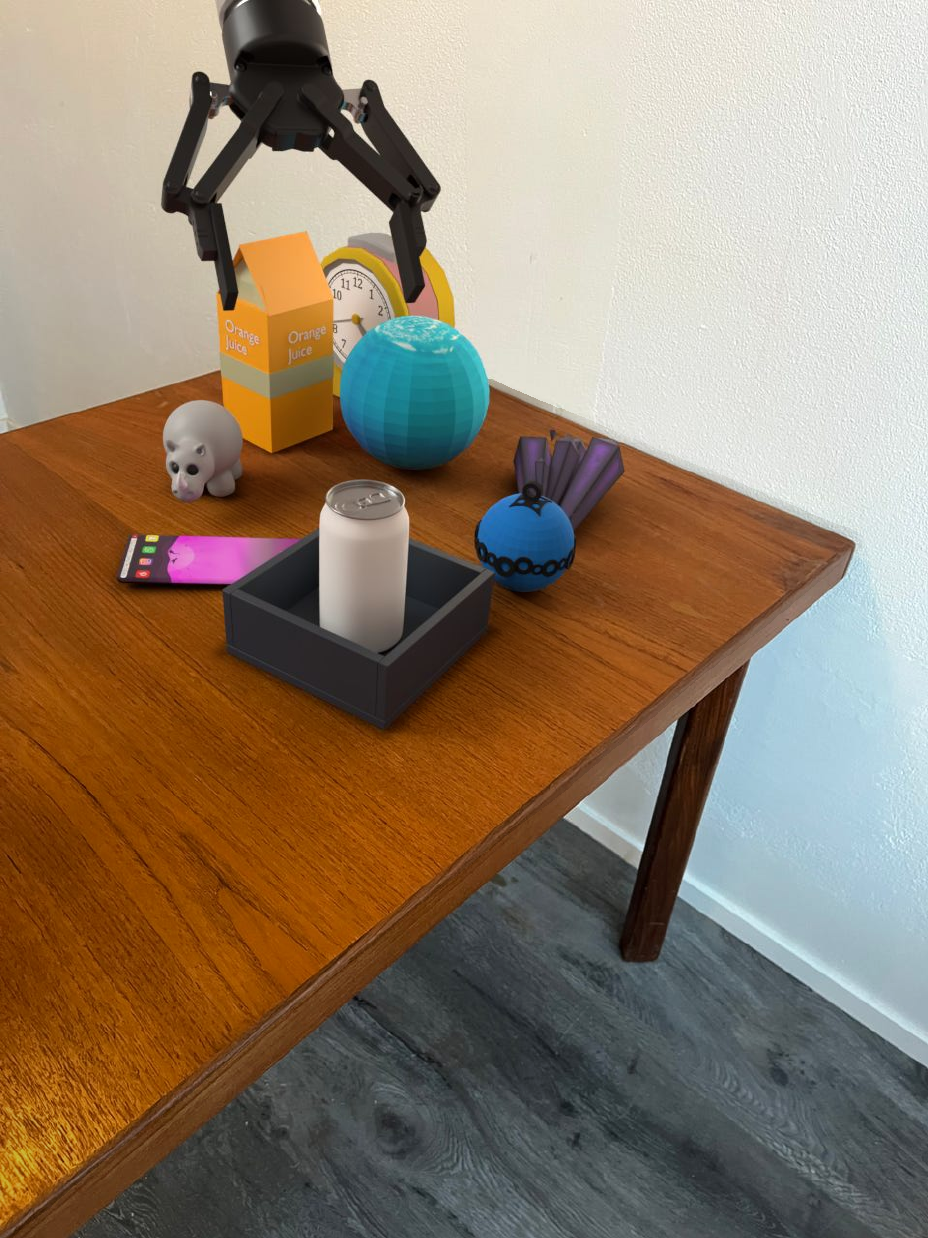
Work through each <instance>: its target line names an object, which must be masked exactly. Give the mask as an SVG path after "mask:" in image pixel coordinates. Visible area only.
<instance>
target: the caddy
mask: <svg viewBox="0 0 928 1238" xmlns="http://www.w3.org/2000/svg"><path fill="white" fill-rule="evenodd" d="M299 539H300V540H299V541H297V542H296V543H294V544H293V545H291V546H290V547H288V548H286V549H285V550H283V551H282V552H280V553H279V554H277V555H276V556H274V557H273V558H271V559H269V560H268V561H266V562H265V563H263V564H262V565H260V566H259V567H257V568H255V569H254V570H252V571H251V572H249V573H248V574H246V575H245V576H243V577H242V578H240V579H238V580H237V581H235V582H234V583H232V584H231V585H227V586H226V587H224V588H222V604H223V618H224V619H223V620H224V632H225V649H226V653H227V654H229V655H232V656H234V657H235V658H237V659H240V660H241V661H243V662H245V663H248V664H249V665H252V666H254V667H255V668H258V669H260V670H262V671H263V672H266V673H268V674H270V675H272V676H274V677H275V678H278V679H280V680H281V681H284V682H286V683H288V684H290V685H292V686H294V687H296V688H298V689H299V690H302V691H304V692H305V693H308V694H310V695H311V696H314V697H316V698H318V699H320V700H322V701H324V702H326V703H328V704H330V705H332V706H335V707H336V708H339V709H341V710H342V711H344V712H346V713H348V714H350V715H352V716H355V717H357V718H358V719H360V720H363V721H365V722H367V723H369V724H371V725H373V726H374V727H377V728H379V729H381V730H383V731H385V730H387V728H389V727H390V726H391V725H392V724H393V723H394V722H395V720H397V719H398V718H399V717H400V716H401V715H402V714H403V713H404V712H405V711H406V710H407V709H408V708H410V706H411V705H412V704H414V703H415V702H416V701H417V700H418V699H419V698H420V697H421V696H422V695H423V694H424V693H425V692H426V691H427V690H428V689H430V687H431V686H432V685H433V684H435V682H436V681H438V679H440V677H442V676H443V675H444V674H445V673H446V672H447V671H448V670H449V669H450V668H451V667H452V666H453V665H454V664H455V663H457V661H458V660H459V659H460V658H462V657H463V655H464V654H466V653H467V652H468V651H469V650H470V649H471V648H472V647H473V646H474V645H475V644H476V643H477V642H478V641H479V640H480V639H481V638H482V637H483V636H484V635H485V634H486V633H487V632H488V629H489V621H490V614H491V607H492V597H493V589H494V583H495V581H494V575H495V572H493V571H491V570H488V569H486V568H483V566H482V565H479V564H476V563H473V562H471V561H469V560H466V559H463V558H461V557H458V556H455V555H454V554H450V553H449V552H445V551H444V550H441V549H438V548H435V547H433V546H432V545H431V546H430V545H429V544H426V543H423V542H421V541H418V540H415V539H413V538H411V537H409V541H408V559H407V576H406V592H405V608H404V622H403V632H402V636H401V638H400V640H399V641H398V642H397V643H396V644H395V645H394V646H393V647H391V648H390V649H389V650H387V651H385V652H383V653H380V654H378V653H376V652H374V651H371V650H369V649H367V648H365V647H363V646H360V645H358V644H356V643H354V642H352V641H350V640H347V639H345V638H343V637H341V636H339V635H337V634H334V633H332V632H330V631H328V630H326V629H324V628H321V627H320V605H319V527H317V528H316V529H314V530H313V531H312V532H310V533H308V534H307V535H305V536H304V537H302V538H299Z"/></svg>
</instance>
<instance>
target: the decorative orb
mask: <svg viewBox="0 0 928 1238" xmlns="http://www.w3.org/2000/svg"><path fill="white" fill-rule="evenodd" d="M339 401H340V409H341V414H342V418H343V422H345V425H346V427H347V429H348V431H349V432H350V434H351V435H352V437H353V438H354V439H355V441H356V442H357V443H358V445H359V446H360V448H362V449H363V450H364V451H365V452H366V453H367V454H369V455H370V456H372V457H373V458H375V459H376V460H377V461H380V462H381V463H383V464H385V465H389V466H391V467H394V468H396V469H402V470H407V471H421V470H422V471H423V470H428V469H434V468H436V467H439V466H443V465H445V464H447V463H449V462H452V461H453V460H454V459H456V458H457V457H458V456H459V455H461V454H462V453H463V452H465V451H466V450H467V449H468V448H469V447H470V446H471V445H472V444H473V442H474V441H475V440H476V438H477V436H478V435H479V433H480V431H481V428H482V426H483V425H484V423H485V420H486V417H487V415H488V409H489V404H490V385H489V379H488V376H487V371H486V368H485V366H484V363H483V360H482V358H481V355H480V354H479V352H478V350H477V348H476V347H475V346H474V345H473V343H471V341H470V340H469V339H468V338H466V336H464V334H463V333H461V331H459V330H457V329H456V328H455V327H454V328H453V327H452V326H450V325H448V324H446V323H444V322H442V321H439V320H436V319H433V318H429V317H424V316H404V317H398V318H394V319H390V320H388V321H386V322H383V323H381V324H379V325H377V326H375V327H374V328H372V329H371V330H369V331H368V332H367V333H366V334H365V335H364V336H363V337H362V338H361V339H360V340H359V341H358V342H357V344H356V345H355V346H354V348H353V349H352V350H351V352H350V353H349V355H348V357H347V359H346V361H345V363H344V366H343V370H342V373H341V380H340V397H339Z"/></svg>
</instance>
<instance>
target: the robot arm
mask: <svg viewBox="0 0 928 1238" xmlns="http://www.w3.org/2000/svg"><path fill="white" fill-rule="evenodd" d="M214 1H215V6H216V12H217V19H218V23H219V26H220V29H221V41H222V43H223V44H222V45H223V49H224V54H225V55H224V56H225V60H226V65H227V66H226V67H227V71H228V75H229V81H230V83H229V84H226V83H219V82H213V81H212V82H211V81H210V78H209V76H208V75H207V73H205V72H203V71H194V72H193V73H192V75H191V83H190V89H189V99H188V100H189V104H188V105H189V111H188V113H187V116H186V118H185V121H184V124H183V126H182V130H181V132H180V135H179V137H178V140H177V143H176V146H175V148H174V151H173V153H172V157H171V159H170V163H169V165H168V168H167V170H166V173H165V175H164V178H163V180H162V186H161V187H162V188H161V199H160V207H161V209H162V210H163V211H164V212H165V213H167V214H175V213H180V214H183V215H185V216H186V217H187V222H188V223H189V225H190V226H191V227H192V231H193V238H194V242H195V247H196V253H197V256H198V258H199V260H201V262H213V264H214V267H215V268H214V270H215V273H216V280H217V286H218V291H220V296H221V301H222V306H223V311H232V310H234V309H235V305H236V301H237V297H238V293H239V291H238V286H237V281H236V276H235V270H234V265H233V255H232V250H231V244H230V239H229V234H228V229H227V223H226V219H225V213H224V208H223V204H222V202H219V201H220V199H221V198H222V197H223V195H224V194H225V193H226V191H227V190H228V188H229V187H230V186H231V184H232V183H233V181H234V180H235V179H236V177H237V176H238V175H239V173H240V172H241V170H242V169H243V168H244V166H245V165H246V163H247V162H248V161H249V160H251V159H252V158H253V157H254V156H255V154H256V153H257V151H258V150H259V148H260V147H261V146H262V145H264V146H266V147H269V148H271V151H272V152H286V151H290V150H295V151H299V152H304V153H314V152H315V149H317V148H318V149H319V150H320V151H321V152H322V153H323V154H325V156H326V157H328V159H330V160H331V161H337V162H339V163H340V165H342V166H343V167H344V168H345V169H346V170H347V171H348V172H349V173H350V174H351V175H353V177H355V178H356V179H357V181H359V182H360V183H361V184H362V185H363V187H365V188H366V189H367V190H368V191H369V192H371V193H372V194H373V195H374V196H375V197H376V198H377V199H378V200H379V201H380V202H382V204H383V205H384V206H385V207H387V208H388V209H389V210H390V211H391V212H392V215H391V217H390V218H389V221H388V227H389V232H390V236H392V241H393V246H394V251H395V255H396V260H397V265H398V270H399V275H400V280H401V284H402V289H403V294H404V299H405V303H415V302H416V300H417V299H418V297H419V295H420V294H421V292H422V291H423V289H424V287H425V281H424V277H423V272H422V267H421V262H420V258H419V256H421V254H422V253H423V251H424V249H425V248H427V243H428V239H427V234H426V230H425V225H424V220H423V215H422V213H428V212H430V210H431V209H432V207H433V206H434V204H435V202H436V201H437V199H438V197H439V195H440V193H441V191H442V187H441V185H440V183H439V181H438V180H437V179H436V177H435V176H434V174H433V173H432V171H431V170H430V168H429V167H428V166H427V164H426V163H425V161H424V160H423V159H422V157H421V156H420V155H419V153H418V152H417V150H416V149H415V148H414V146H413V145H412V143H411V142H410V141H409V138H407V136H406V135H405V134H404V132H403V130H402V129H401V128H400V127H399V125H398V124H397V122H396V121H395V119H394V118H393V116H392V115H391V114H390V112H389V111H388V110H387V108H386V105H385V103H384V100H383V97H382V95H381V91H380V87H379V85H378V83H377V82H376V81H375V80H373V79H365V80H364V81H363V83H362V85H361V88H360V87H359V88H348V89H347V88H346V89H342V87H341V86H340V85H339V83H338V82H337V81H336V79H335V77H334V72H333V71H334V70H333V63H332V58H331V54H330V49H329V45H328V44H329V43H328V39H327V34H326V29H325V24H324V21H323V18H322V8H321V3H320V0H214ZM225 106H226V107H227V106H228V108H229V110H230V112H232V113H233V114H234V116H235V117H236V118H237V119H238V120H239V121H240V123H239V126H238V127H237V129H236V130H235V131H234V133H233V134H232V135H231V137H230V138H229V140H228V141H227V143H226V144H225V145H224V147H223V148H222V149H221V151H220V152H219V153H218V155H217V156H216V157H215V159H214V160H213V161H212V163H211V164H210V166H209V167H208V168H207V170H206V171H205V172H204V174H203V175H202V176H201V178H200V179H199V180H198V182H197V183H196V184H195V185H194V187H193V188H192V187H189V186H188V184H189V181H190V178H191V176H192V173H193V170H194V167H195V164H196V161H197V159H198V157H199V156H198V155H199V153H200V150H201V147H202V145H203V142H204V139H205V136H206V133H207V130H208V123H209V120H213V119H215V117H217V116H219V114H220V112H221V109H222V108H223V107H225ZM342 111H347V112H349V113H350V114H351V116H352V118H353V122H354V123H355V124H357V125H359V124H360V125H361V128H362V130H363V132H364V134H365V136H366V138H367V139H368V140H369V143H371V145H372V146H373V147H372V146H371V145H370V144H369V143H368V142H367V141H366V140H365V139H364V138H363V137H362V136H361V135H360V134H358V132H356V131H355V128H354V125H353V123H352V122H351V120H350V119H348V117H347V116H345V115H344V114H343V113H342ZM331 130H332V131H333V136H332V135H331V134H330V132H331Z"/></svg>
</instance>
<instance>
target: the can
mask: <svg viewBox="0 0 928 1238" xmlns="http://www.w3.org/2000/svg"><path fill="white" fill-rule="evenodd" d="M405 503H406V498H405V496H404V494H403V493H402V492H401V490H399V489H398V488H397V487H396V486H393V485H392V484H389V483H386V482H384V481H380V480H373V479H352V480H346V481H342V482H339V483H336V484H334V485H333V486H332V487H331V488H330V489H328V491H326V494H325V503H324V505H323V506H322V509H321V510H320V513H319V527H318V528H319V605H320V627H321V628H324V629H326V630H328V631H330V632H332V633H334V634H337V635H339V636H341V637H343V638H345V639H347V640H350V641H352V642H354V643H356V644H358V645H360V646H363V647H365V648H367V649H369V650H371V651H374V652H376V653H378V654H380V653H383V652H385V651H387V650H389V649H390V648H391V647H393V646H394V645H395V644H396V643H397V642H398V641H399V640H400V638H401V636H402V632H403V622H404V608H405V592H406V576H407V559H408V541H409V538H410V516H409V513H408V511H407V509H406V506H405Z"/></svg>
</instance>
